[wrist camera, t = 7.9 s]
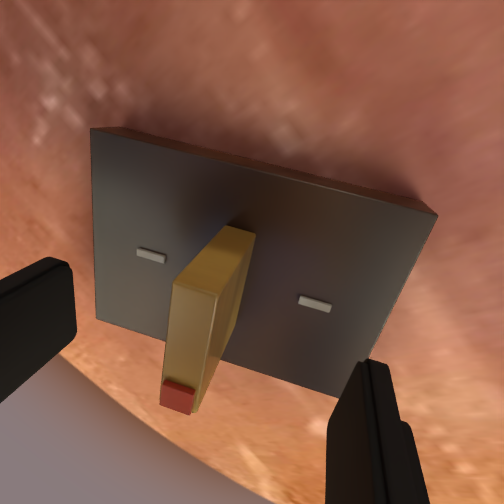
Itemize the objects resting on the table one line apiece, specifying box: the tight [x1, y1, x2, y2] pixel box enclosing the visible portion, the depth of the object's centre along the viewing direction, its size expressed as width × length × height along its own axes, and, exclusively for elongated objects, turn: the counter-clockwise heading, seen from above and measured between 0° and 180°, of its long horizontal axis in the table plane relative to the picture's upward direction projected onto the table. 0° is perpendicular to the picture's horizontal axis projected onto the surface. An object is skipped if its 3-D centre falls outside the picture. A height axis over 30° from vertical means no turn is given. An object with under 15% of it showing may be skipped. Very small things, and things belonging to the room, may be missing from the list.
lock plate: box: [90, 127, 438, 398], centre depth 15 cm, size 14×10×2 cm
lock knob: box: [160, 225, 256, 415], centre depth 12 cm, size 5×1×5 cm, turn 168°
